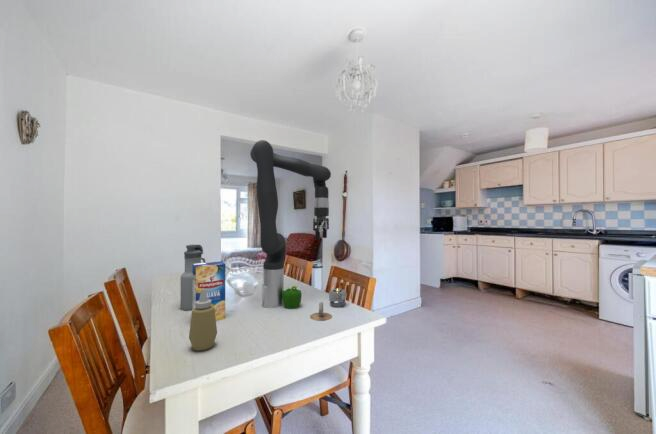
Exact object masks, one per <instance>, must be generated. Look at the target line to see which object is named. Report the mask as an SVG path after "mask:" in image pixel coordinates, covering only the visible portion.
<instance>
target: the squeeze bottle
mask: <svg viewBox="0 0 656 434" xmlns="http://www.w3.org/2000/svg"><path fill="white" fill-rule="evenodd" d="M190 315H191V316H190V324H189V335H188V339H189V341H190V345H191V347H192V349H193V350H194V351H199V352H200V351H205V350H208V349H211V348H212V347H213V346H214V344H215V340H216V337H217V335H218V330H217V329H218V327H217V320H216V317H215V308H214V307H213V306H211V300H210V299H208V298H207V294H206V290H205V289H202V290H201V294H200V298H199V300H198V301H196V302H195V308H194V309H193V310H191V314H190Z"/></svg>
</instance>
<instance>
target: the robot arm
mask: <svg viewBox="0 0 656 434" xmlns="http://www.w3.org/2000/svg"><path fill="white" fill-rule="evenodd" d="M250 158H251V160H252V161H253V162H255V163H256V170H257V177H256V187H255V188H256V190H255V191H256V199H257V201H256V202H257V208H258V216H259V225H260V227H259V229H260V231H259V232H260V234H259V235H260V248H261V250H262V251H263V252H264V253H265V254H266V256H265V257H266V258H265V260H264V261H263V269H262V270H263V271H262V272H263V275H262V277H263V280H262V292H261V293H262V295H261V296H262V298H261V301H262V306H263V308H264V309H266V308H267V309H268V308H269V309H274V308H275V309H276V308H279V307H282V306H284V303H283V299H282V293H283V291H285V289H284V288H285V287H284V286H285V285H284V284H285V283H284V281H285V277H284V275H285V273H284V269H285V267H284V266H285V263H286V249H287V246H286V244H287V243H286V239H285V237H284V235H282V234H281V233H279V232H278V230H277V223H276V222H277V221H276V220H277V215H278V209H279V197H278V190H277V183H276V176H275V172H274V170H275V169H274V167H275V168H279V169H282V170H286V171H289V172H292V173H295V174H297V175H300V176H304V177H307V178H308V177H311V178H312V181H313V187H314V202H313V205H314V206H313V215H314V217H315V218H313V222H312V223H313V225H312V231H314V232H315V233H314V234H315V240H320V239H321V238H322V239H327V238H328V237H327V236H328V230H329V229H330V223H329V222H330V220H329V219H330V218H328V217H329V216H330V211H329V210H330V202H329V201H330V200H329V187H327V184H326V183H327V181H328V180H330V178H331V177H332V173H331V170H330V169H329V168H328V167H326V166H324V165H320V164H315V163H311V162H309V161H306V160H302V159H300V158H298V157H297V158H296V157H290V156H284V155H279V154H278V153H275V152H274V149H273V146H272V144H271V143H270V142H269V141H267V140H264V139H261V140H258V141H256V142H255V143H254V145H253V146H252V148H251V150H250ZM321 230H322V237H321Z"/></svg>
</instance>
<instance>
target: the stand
mask: <svg viewBox="0 0 656 434" xmlns="http://www.w3.org/2000/svg"><path fill="white" fill-rule="evenodd" d="M309 318H310V319H311V320H312V321H317V322H325V321H330V320H331V319H332V318H333V315H332V314H330V313H328V312H324V302H322V301H321V302H318V312H315V313H311V314H310V315H309Z"/></svg>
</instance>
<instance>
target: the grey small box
mask: <svg viewBox="0 0 656 434" xmlns="http://www.w3.org/2000/svg"><path fill="white" fill-rule="evenodd" d="M339 289H340V292H336V288H332V289H331V290H330V291H329V292H328V301H329V302H330V301H335V302H343V301H344V300H345V301H346V299H347V290H346V289H341V288H339Z"/></svg>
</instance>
